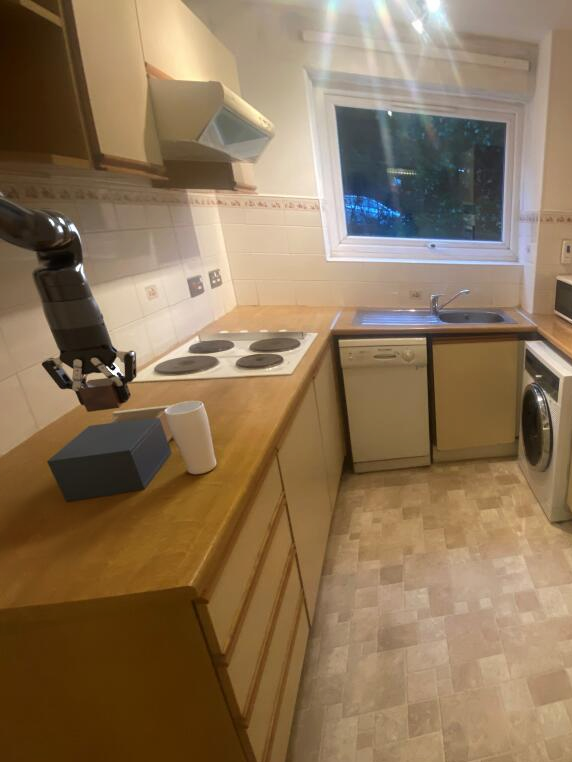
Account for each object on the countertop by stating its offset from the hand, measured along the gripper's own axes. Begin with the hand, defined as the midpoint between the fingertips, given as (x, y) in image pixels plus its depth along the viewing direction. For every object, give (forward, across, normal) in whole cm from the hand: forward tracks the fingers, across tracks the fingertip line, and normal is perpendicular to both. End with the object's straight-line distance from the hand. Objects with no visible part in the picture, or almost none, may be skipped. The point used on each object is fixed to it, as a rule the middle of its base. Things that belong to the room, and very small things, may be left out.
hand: (107, 403), depth 88 cm
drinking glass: (+16, +14, -5) cm, 22 cm away
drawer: (+15, 0, +10) cm, 18 cm away
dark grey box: (+16, -1, -1) cm, 16 cm away
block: (0, 0, 0) cm, 0 cm away
